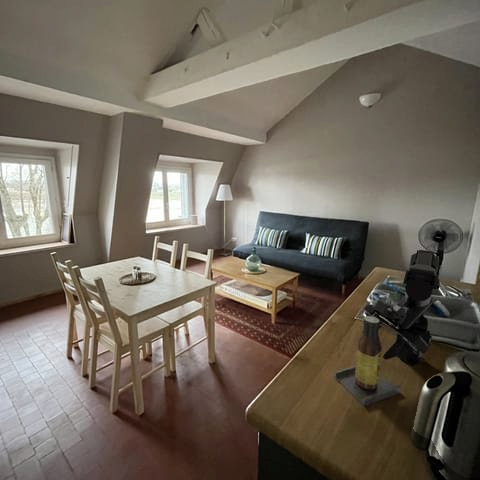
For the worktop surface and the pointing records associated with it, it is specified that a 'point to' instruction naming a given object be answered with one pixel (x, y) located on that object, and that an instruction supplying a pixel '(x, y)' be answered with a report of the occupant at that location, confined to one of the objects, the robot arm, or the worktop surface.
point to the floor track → (362, 394)
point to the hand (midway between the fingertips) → (372, 348)
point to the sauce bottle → (368, 355)
